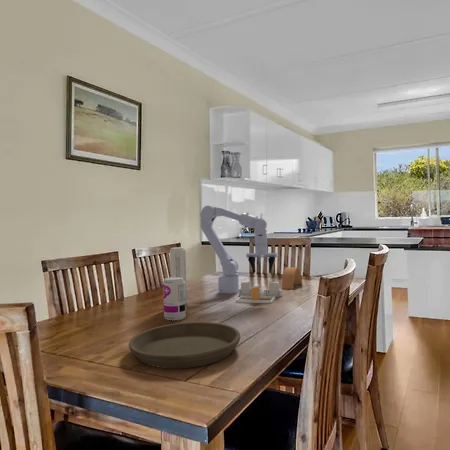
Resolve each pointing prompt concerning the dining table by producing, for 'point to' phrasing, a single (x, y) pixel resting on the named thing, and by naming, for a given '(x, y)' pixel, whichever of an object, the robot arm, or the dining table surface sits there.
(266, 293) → the fuse block
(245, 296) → the tray
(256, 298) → the block
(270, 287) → the block
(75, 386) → the dining table surface
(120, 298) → the dining table surface
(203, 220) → the robot arm
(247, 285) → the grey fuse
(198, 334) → the plant saucer
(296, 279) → the arch
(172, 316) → the supplement can
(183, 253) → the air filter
